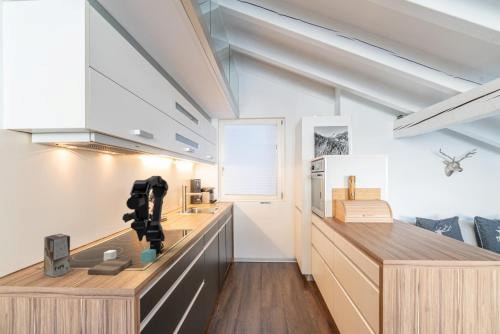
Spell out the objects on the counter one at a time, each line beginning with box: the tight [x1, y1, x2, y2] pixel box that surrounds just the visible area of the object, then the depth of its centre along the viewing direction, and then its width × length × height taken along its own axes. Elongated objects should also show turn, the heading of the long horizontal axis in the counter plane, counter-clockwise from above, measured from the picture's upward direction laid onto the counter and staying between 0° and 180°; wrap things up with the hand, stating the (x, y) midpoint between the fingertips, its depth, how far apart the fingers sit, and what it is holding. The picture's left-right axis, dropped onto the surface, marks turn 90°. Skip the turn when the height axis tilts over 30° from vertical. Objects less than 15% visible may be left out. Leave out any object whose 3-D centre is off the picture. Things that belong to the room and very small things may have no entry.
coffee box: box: [43, 233, 71, 278], centre depth 104 cm, size 9×6×16 cm
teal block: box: [140, 248, 157, 264], centre depth 118 cm, size 5×5×5 cm
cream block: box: [103, 249, 117, 262], centre depth 121 cm, size 4×4×4 cm
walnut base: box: [87, 258, 133, 276], centre depth 108 cm, size 13×12×2 cm
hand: (142, 238), depth 115 cm, fingers open, 9 cm apart
